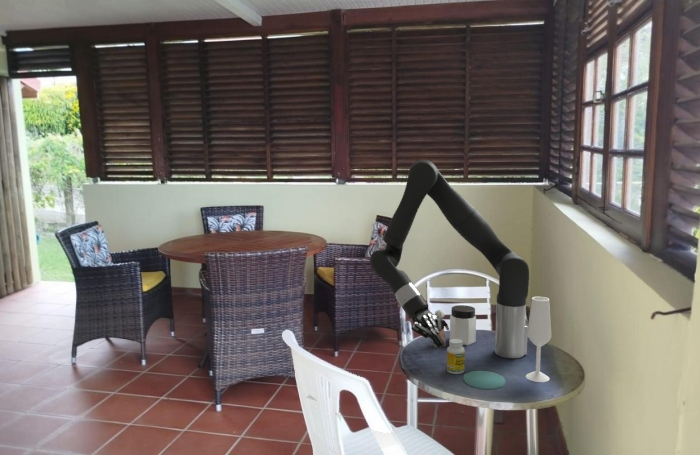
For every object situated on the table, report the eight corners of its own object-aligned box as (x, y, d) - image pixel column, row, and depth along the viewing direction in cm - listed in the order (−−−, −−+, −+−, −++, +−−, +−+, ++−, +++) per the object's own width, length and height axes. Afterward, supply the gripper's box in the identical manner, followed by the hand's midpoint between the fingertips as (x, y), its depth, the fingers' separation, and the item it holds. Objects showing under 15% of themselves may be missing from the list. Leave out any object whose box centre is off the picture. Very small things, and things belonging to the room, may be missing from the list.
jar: (460, 335, 199) (461, 303, 197) (479, 340, 193) (480, 308, 191) (445, 341, 192) (445, 308, 191) (464, 347, 187) (465, 313, 185)
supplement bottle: (455, 366, 170) (456, 336, 169) (468, 371, 166) (468, 341, 165) (443, 370, 167) (443, 340, 166) (455, 375, 163) (455, 345, 162)
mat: (489, 369, 167) (489, 368, 167) (514, 385, 156) (514, 384, 156) (455, 375, 163) (455, 374, 163) (478, 391, 152) (478, 390, 152)
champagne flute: (529, 371, 166) (532, 294, 163) (552, 376, 162) (555, 297, 159) (522, 378, 161) (525, 299, 157) (545, 384, 157) (549, 303, 153)
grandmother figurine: (441, 341, 192) (442, 306, 190) (450, 344, 189) (450, 309, 188) (427, 347, 187) (427, 311, 185) (436, 350, 184) (436, 313, 183)
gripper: (404, 298, 169) (436, 345, 162) (430, 290, 179) (461, 334, 172) (391, 311, 174) (421, 357, 167) (417, 302, 183) (447, 346, 176)
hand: (441, 346), depth 169 cm, fingers closed
